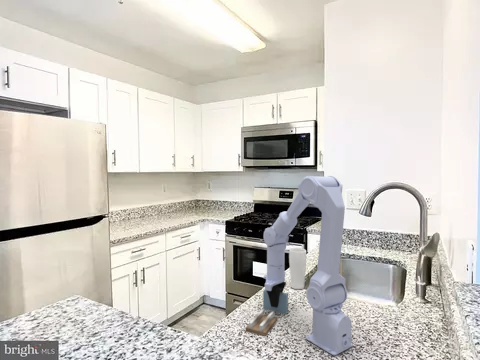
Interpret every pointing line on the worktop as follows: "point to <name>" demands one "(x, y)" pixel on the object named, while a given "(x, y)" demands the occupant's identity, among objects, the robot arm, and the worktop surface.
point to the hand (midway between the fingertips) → (275, 305)
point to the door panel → (281, 305)
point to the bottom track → (262, 323)
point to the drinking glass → (297, 267)
